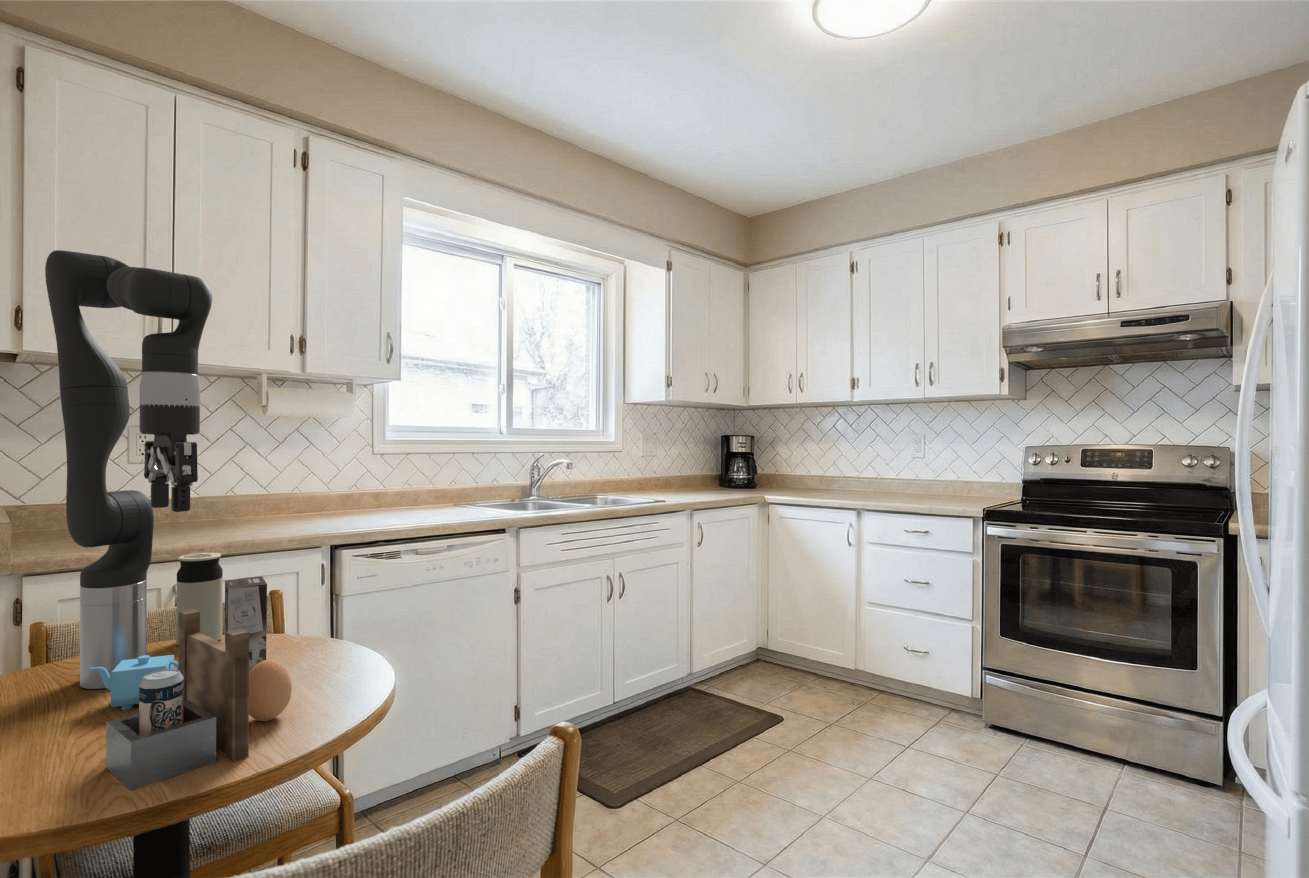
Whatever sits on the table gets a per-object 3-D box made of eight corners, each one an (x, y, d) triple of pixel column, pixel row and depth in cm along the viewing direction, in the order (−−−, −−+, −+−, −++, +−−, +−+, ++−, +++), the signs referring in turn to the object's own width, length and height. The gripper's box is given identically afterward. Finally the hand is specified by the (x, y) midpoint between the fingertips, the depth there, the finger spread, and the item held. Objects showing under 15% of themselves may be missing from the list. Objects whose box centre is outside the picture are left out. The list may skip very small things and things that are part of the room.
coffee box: (267, 671, 126) (268, 584, 125) (226, 678, 122) (226, 588, 122) (263, 657, 133) (263, 575, 133) (224, 663, 130) (224, 578, 129)
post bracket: (106, 767, 90) (106, 721, 90) (188, 741, 97) (188, 699, 97) (130, 790, 84) (131, 742, 84) (216, 761, 92) (216, 716, 91)
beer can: (160, 775, 88) (160, 682, 88) (129, 771, 89) (129, 679, 89) (192, 757, 92) (192, 669, 92) (163, 754, 93) (163, 666, 93)
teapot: (83, 716, 105) (83, 668, 105) (95, 702, 111) (95, 656, 111) (177, 704, 111) (177, 657, 111) (184, 691, 116) (184, 647, 116)
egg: (272, 707, 109) (273, 650, 109) (301, 715, 107) (301, 657, 106) (232, 723, 103) (232, 663, 103) (260, 732, 101) (261, 670, 100)
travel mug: (187, 650, 137) (187, 560, 137) (169, 643, 142) (169, 556, 141) (229, 640, 144) (229, 554, 144) (211, 633, 148) (211, 550, 148)
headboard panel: (178, 724, 103) (178, 611, 103) (193, 720, 104) (193, 608, 104) (232, 761, 91) (233, 635, 91) (248, 756, 93) (249, 631, 93)
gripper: (217, 403, 103) (216, 511, 103) (180, 405, 112) (180, 504, 112) (158, 401, 97) (158, 515, 97) (124, 403, 106) (124, 508, 106)
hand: (170, 509), depth 105 cm, fingers open, 8 cm apart
